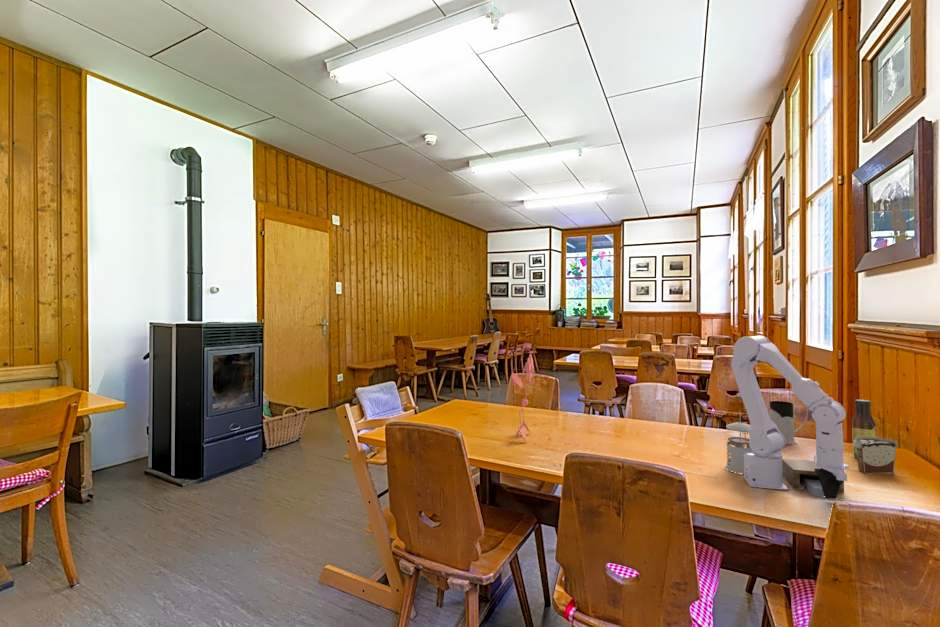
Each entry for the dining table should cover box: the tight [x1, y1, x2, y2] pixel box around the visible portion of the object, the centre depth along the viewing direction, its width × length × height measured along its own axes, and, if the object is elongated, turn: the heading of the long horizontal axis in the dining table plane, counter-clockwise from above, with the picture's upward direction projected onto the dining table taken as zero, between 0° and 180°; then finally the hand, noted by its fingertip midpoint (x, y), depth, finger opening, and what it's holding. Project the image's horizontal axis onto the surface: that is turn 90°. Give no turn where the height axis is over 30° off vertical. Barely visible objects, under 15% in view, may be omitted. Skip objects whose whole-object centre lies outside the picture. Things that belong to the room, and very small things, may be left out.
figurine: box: [511, 353, 536, 441], centre depth 183 cm, size 15×26×35 cm, turn 163°
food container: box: [852, 436, 899, 475], centre depth 142 cm, size 12×6×10 cm, turn 92°
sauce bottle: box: [851, 399, 877, 459], centre depth 153 cm, size 7×6×20 cm
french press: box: [724, 392, 753, 474], centre depth 145 cm, size 10×12×25 cm
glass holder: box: [768, 400, 809, 445], centre depth 174 cm, size 9×14×15 cm, turn 88°
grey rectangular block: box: [803, 479, 824, 497], centre depth 126 cm, size 5×7×2 cm
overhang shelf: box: [782, 458, 845, 494], centre depth 132 cm, size 12×10×6 cm
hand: (830, 497), depth 120 cm, fingers closed
